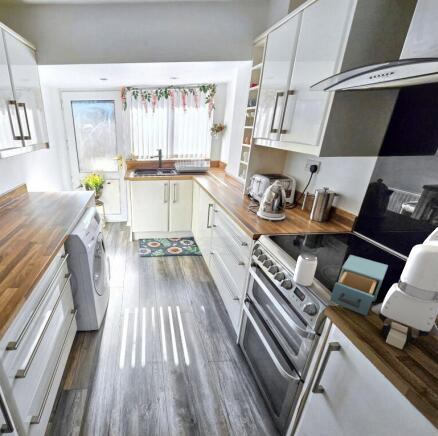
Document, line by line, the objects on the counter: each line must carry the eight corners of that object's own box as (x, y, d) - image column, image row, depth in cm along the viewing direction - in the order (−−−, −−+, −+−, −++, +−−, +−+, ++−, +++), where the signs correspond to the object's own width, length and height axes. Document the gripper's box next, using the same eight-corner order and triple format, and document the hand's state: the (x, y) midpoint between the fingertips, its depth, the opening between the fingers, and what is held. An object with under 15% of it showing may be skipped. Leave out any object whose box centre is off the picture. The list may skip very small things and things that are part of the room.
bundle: (388, 329, 75) (392, 321, 74) (404, 336, 72) (408, 327, 71) (385, 342, 71) (388, 333, 70) (402, 349, 68) (406, 341, 67)
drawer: (364, 322, 77) (371, 303, 74) (326, 306, 84) (331, 288, 81) (373, 298, 87) (379, 281, 84) (338, 286, 94) (343, 269, 91)
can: (295, 285, 97) (300, 259, 92) (292, 276, 102) (297, 251, 98) (313, 288, 95) (320, 262, 90) (309, 278, 100) (315, 253, 96)
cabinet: (374, 301, 86) (382, 280, 83) (336, 287, 95) (342, 267, 91) (380, 285, 95) (388, 265, 91) (344, 273, 103) (350, 254, 99)
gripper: (466, 296, 61) (437, 349, 68) (378, 270, 73) (361, 317, 80) (467, 311, 57) (437, 365, 63) (374, 281, 69) (356, 329, 75)
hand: (395, 338), depth 71 cm, fingers open, 3 cm apart
